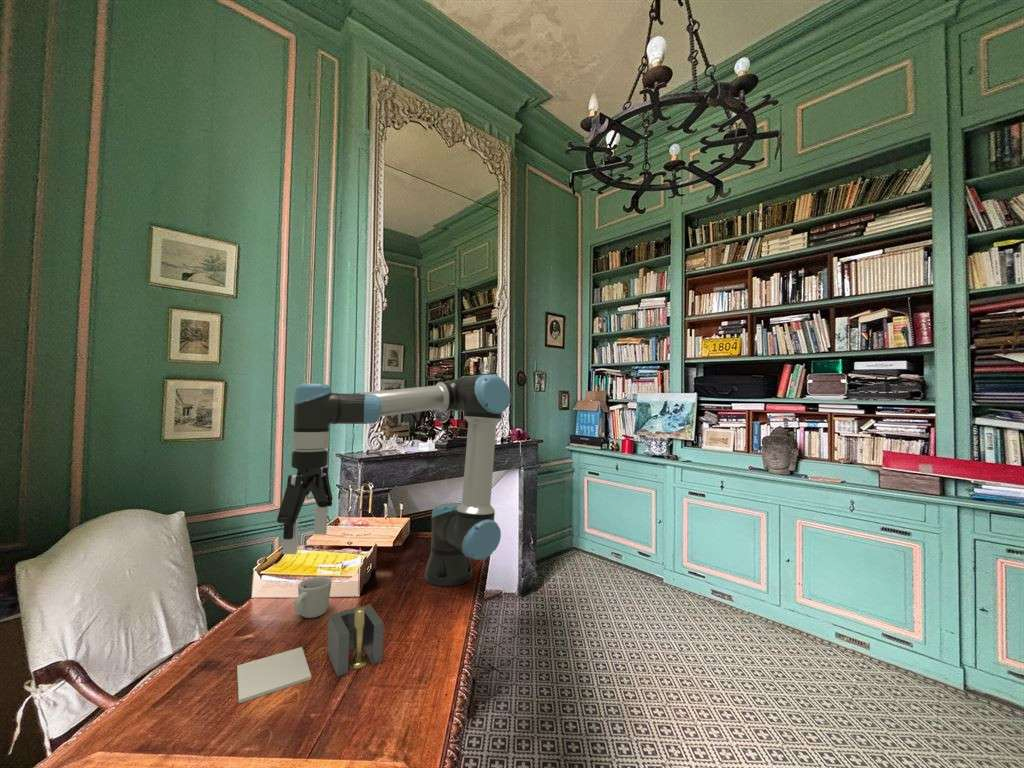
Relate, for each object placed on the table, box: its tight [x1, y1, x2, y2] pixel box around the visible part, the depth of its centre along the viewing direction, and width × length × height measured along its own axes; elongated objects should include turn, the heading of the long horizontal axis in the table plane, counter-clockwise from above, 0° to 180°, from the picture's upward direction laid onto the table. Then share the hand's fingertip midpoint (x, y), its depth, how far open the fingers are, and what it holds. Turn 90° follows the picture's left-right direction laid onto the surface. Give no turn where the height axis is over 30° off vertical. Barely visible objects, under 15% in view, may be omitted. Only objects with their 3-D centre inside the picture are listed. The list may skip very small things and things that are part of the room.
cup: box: [293, 575, 333, 619], centre depth 106 cm, size 11×8×8 cm
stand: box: [348, 608, 368, 670], centre depth 87 cm, size 4×4×11 cm
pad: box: [236, 646, 312, 704], centre depth 83 cm, size 12×12×1 cm
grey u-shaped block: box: [326, 603, 384, 677], centre depth 89 cm, size 9×10×8 cm
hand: (306, 543), depth 94 cm, fingers open, 13 cm apart
